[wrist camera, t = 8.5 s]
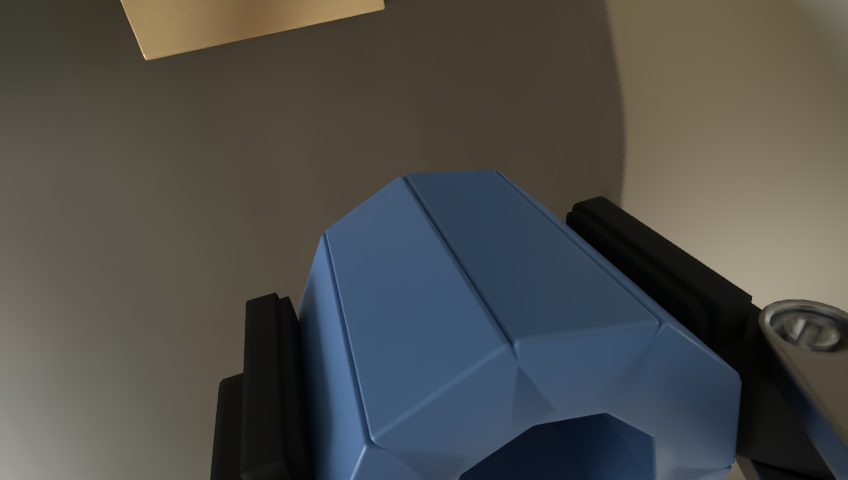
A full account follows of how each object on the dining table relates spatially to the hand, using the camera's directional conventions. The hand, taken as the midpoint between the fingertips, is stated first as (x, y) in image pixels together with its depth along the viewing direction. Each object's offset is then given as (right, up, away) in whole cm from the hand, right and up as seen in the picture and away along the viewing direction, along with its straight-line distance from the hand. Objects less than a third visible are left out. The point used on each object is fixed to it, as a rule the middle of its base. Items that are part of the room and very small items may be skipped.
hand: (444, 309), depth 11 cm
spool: (0, 0, 0) cm, 0 cm away
